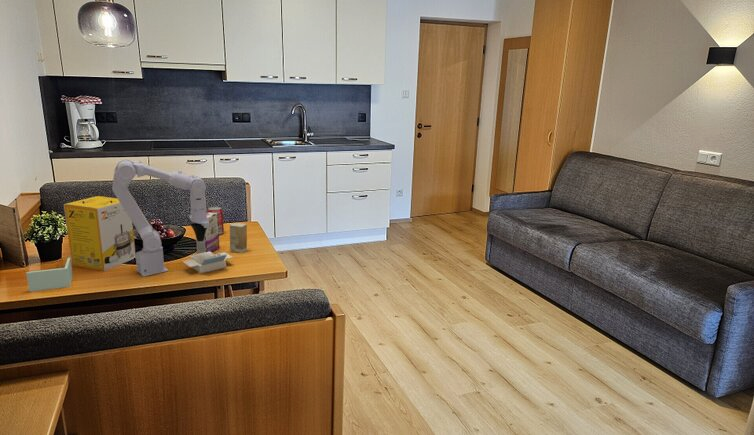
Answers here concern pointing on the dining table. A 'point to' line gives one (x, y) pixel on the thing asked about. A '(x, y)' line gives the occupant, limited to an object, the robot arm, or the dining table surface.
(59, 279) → the l-shaped corner panel
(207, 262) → the flap
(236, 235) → the skincare box
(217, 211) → the soda can
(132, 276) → the dining table surface
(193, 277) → the dining table surface
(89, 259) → the packaging box
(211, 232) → the candy bar box
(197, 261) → the carton
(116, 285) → the dining table surface
